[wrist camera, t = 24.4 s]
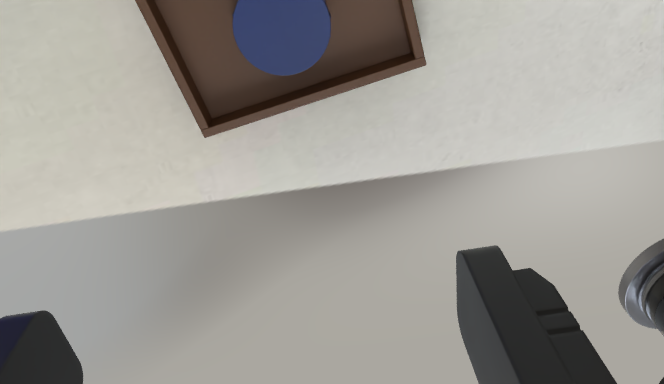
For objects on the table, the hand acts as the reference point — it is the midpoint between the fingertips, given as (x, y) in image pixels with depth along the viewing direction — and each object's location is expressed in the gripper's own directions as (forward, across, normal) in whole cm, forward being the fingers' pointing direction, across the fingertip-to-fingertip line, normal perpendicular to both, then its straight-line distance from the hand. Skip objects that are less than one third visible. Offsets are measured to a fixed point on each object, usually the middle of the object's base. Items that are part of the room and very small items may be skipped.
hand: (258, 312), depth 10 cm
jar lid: (+24, 0, 0) cm, 24 cm away
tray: (+26, 0, 0) cm, 26 cm away
